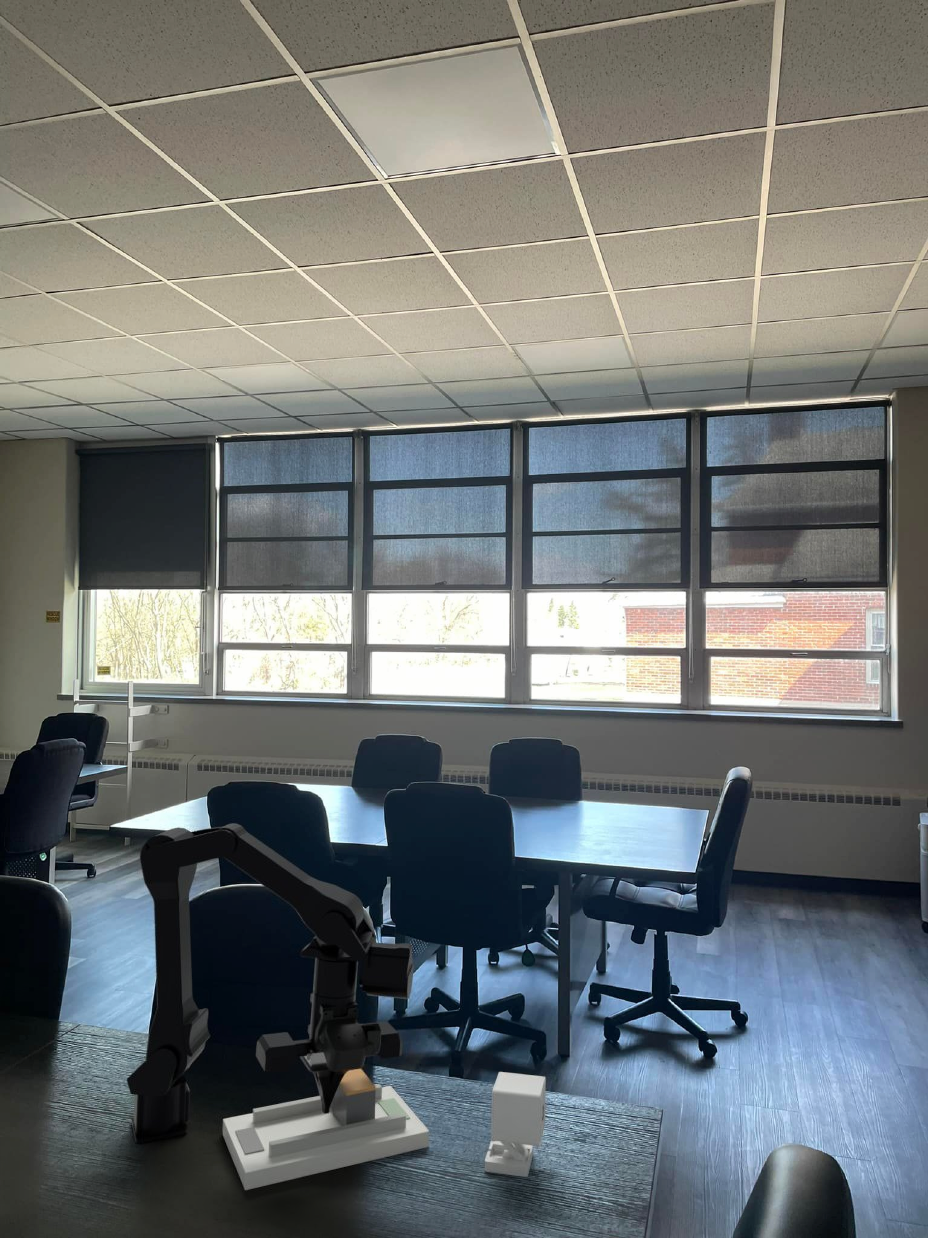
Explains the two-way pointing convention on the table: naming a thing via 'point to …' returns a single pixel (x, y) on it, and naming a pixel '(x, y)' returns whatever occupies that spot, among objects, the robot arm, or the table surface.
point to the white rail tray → (317, 1138)
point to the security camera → (515, 1122)
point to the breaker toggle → (354, 1098)
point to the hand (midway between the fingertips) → (325, 1112)
